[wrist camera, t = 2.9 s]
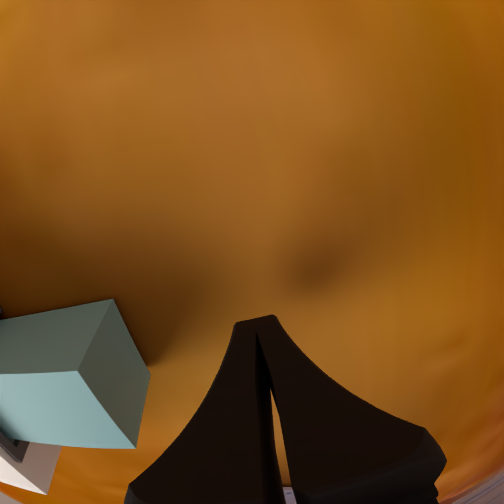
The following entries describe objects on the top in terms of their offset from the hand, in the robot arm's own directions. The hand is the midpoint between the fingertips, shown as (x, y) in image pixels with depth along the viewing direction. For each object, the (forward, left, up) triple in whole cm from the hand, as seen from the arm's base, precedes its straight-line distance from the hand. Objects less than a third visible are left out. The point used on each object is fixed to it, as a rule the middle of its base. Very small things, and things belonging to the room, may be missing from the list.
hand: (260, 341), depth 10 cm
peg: (+8, +5, -2) cm, 9 cm away
